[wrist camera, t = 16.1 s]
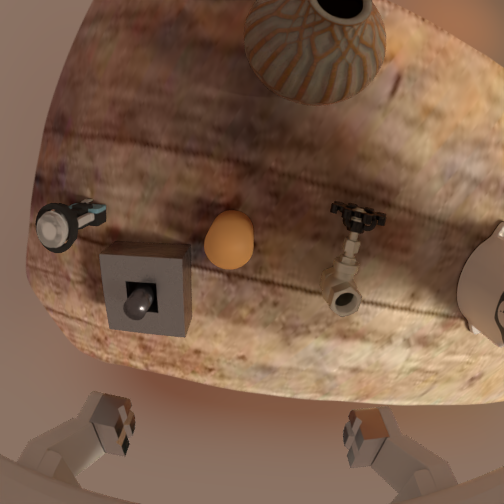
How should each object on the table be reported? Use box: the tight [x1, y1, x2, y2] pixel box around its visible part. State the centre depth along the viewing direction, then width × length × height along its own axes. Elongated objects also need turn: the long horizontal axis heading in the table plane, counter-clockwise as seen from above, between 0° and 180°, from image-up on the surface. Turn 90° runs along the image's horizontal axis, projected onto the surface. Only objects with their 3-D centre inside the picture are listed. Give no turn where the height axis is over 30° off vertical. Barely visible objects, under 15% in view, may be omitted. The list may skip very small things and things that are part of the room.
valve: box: [320, 201, 386, 317], centre depth 36 cm, size 7×7×12 cm
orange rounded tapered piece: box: [204, 210, 254, 269], centre depth 36 cm, size 5×5×6 cm
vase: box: [244, 0, 386, 106], centre depth 23 cm, size 13×13×18 cm
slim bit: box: [123, 282, 157, 320], centre depth 37 cm, size 3×3×8 cm
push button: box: [36, 199, 106, 253], centre depth 33 cm, size 7×5×10 cm
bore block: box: [99, 241, 192, 337], centre depth 38 cm, size 10×10×5 cm
